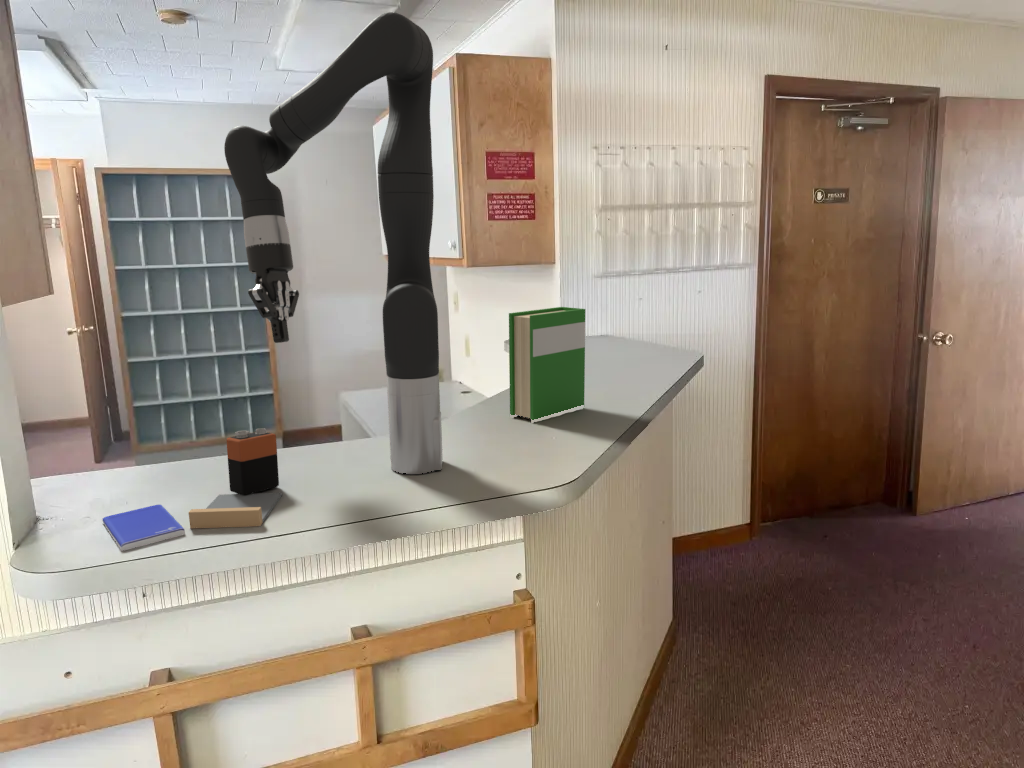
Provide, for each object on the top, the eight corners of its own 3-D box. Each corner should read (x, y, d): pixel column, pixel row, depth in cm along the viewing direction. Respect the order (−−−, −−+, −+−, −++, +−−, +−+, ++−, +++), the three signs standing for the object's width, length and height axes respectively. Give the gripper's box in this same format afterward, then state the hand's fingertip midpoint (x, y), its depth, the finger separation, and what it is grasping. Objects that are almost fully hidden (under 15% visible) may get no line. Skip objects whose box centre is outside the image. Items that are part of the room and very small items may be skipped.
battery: (228, 492, 115) (224, 432, 114) (265, 482, 121) (261, 425, 119) (243, 496, 113) (239, 435, 111) (280, 486, 118) (276, 428, 117)
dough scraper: (281, 495, 115) (280, 481, 114) (260, 526, 103) (258, 510, 102) (219, 497, 114) (217, 482, 114) (190, 528, 102) (188, 512, 102)
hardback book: (533, 423, 156) (532, 315, 151) (509, 417, 161) (508, 313, 156) (584, 409, 168) (585, 308, 163) (561, 404, 173) (561, 306, 168)
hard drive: (184, 527, 100) (161, 503, 109) (120, 543, 95) (101, 517, 104) (185, 537, 100) (162, 512, 110) (122, 554, 95) (103, 526, 105)
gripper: (265, 237, 117) (279, 341, 118) (306, 245, 130) (319, 338, 131) (226, 244, 119) (240, 346, 120) (270, 251, 132) (283, 343, 133)
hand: (281, 342), depth 125 cm, fingers closed
